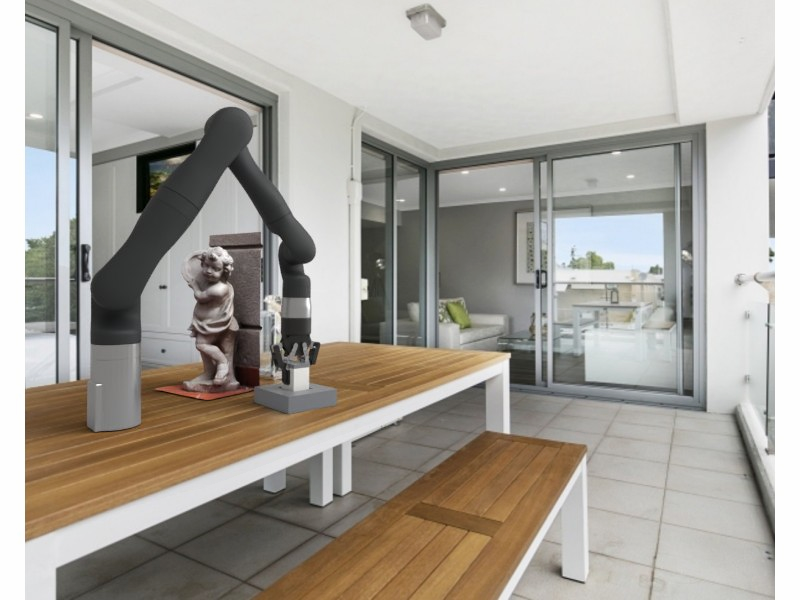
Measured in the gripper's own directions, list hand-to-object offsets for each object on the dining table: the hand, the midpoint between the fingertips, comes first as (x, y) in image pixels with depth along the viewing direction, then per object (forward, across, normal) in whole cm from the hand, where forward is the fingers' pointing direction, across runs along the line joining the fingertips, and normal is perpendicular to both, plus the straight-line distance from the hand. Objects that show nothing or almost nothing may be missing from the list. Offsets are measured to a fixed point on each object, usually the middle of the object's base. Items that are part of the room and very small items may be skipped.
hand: (295, 383), depth 127 cm
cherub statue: (+5, -9, +30) cm, 32 cm away
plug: (+4, 0, 0) cm, 4 cm away
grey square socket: (+5, 0, 0) cm, 5 cm away
